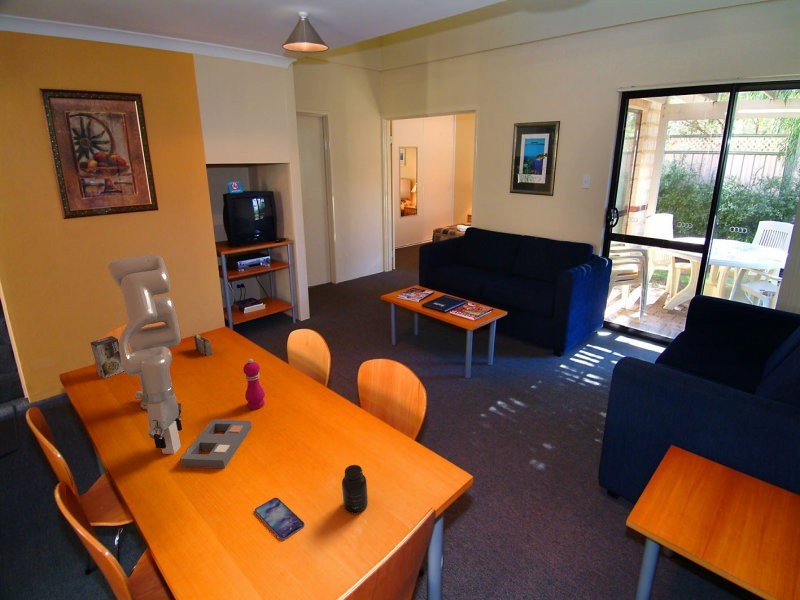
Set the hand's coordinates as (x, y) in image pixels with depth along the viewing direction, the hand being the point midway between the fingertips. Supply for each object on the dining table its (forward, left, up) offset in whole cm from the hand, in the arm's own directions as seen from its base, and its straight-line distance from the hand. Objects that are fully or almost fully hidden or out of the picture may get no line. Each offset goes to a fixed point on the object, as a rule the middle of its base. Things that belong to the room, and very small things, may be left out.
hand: (169, 438), depth 153 cm
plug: (0, 0, -4) cm, 4 cm away
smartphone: (+46, -27, -5) cm, 54 cm away
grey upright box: (-27, +76, -5) cm, 81 cm away
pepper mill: (+18, +29, -5) cm, 34 cm away
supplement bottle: (+66, -21, -5) cm, 69 cm away
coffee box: (-58, +52, -5) cm, 78 cm away
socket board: (+15, +3, -4) cm, 16 cm away
